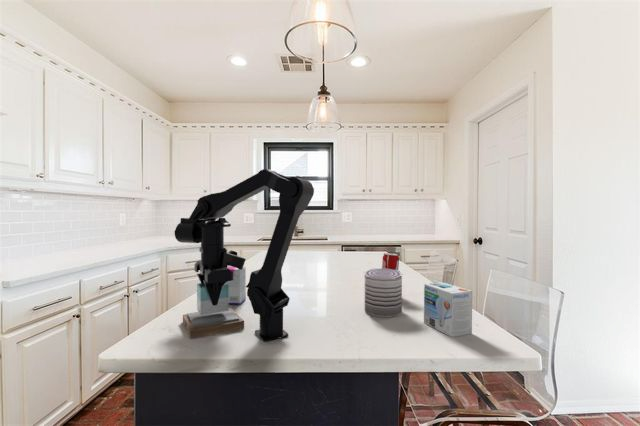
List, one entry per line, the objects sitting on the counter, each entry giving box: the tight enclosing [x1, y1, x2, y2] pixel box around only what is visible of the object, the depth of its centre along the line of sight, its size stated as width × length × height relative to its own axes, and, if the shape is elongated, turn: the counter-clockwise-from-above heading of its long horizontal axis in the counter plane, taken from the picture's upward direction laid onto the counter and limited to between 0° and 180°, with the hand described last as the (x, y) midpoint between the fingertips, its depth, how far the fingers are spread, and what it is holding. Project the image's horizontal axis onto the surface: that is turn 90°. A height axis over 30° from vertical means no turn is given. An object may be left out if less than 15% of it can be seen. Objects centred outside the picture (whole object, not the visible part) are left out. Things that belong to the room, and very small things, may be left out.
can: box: [363, 267, 403, 318], centre depth 97 cm, size 11×11×12 cm
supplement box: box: [226, 266, 247, 306], centre depth 106 cm, size 6×6×12 cm
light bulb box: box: [423, 281, 473, 338], centre depth 83 cm, size 11×7×11 cm, turn 21°
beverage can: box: [381, 252, 400, 271], centre depth 114 cm, size 6×6×15 cm
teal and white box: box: [196, 282, 230, 315], centre depth 85 cm, size 7×5×7 cm
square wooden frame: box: [182, 306, 245, 340], centre depth 85 cm, size 13×13×2 cm
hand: (212, 302), depth 85 cm, fingers closed on teal and white box, 5 cm apart
